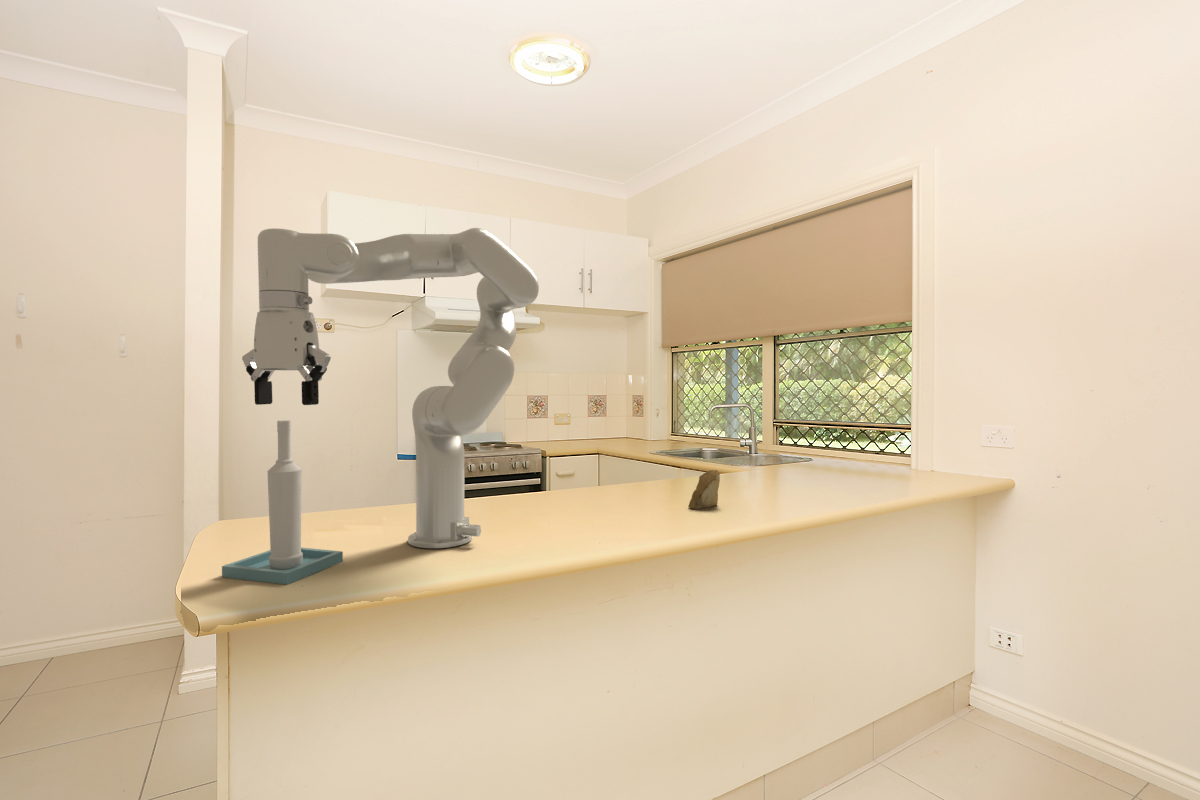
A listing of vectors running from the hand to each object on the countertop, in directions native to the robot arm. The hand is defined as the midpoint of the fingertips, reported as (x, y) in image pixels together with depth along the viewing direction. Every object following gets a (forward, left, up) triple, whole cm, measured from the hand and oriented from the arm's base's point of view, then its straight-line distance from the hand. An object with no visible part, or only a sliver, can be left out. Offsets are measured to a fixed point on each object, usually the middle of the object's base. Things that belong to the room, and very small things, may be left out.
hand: (286, 404), depth 102 cm
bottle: (0, 0, -28) cm, 28 cm away
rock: (-64, -76, -29) cm, 103 cm away
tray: (0, 0, -28) cm, 28 cm away
